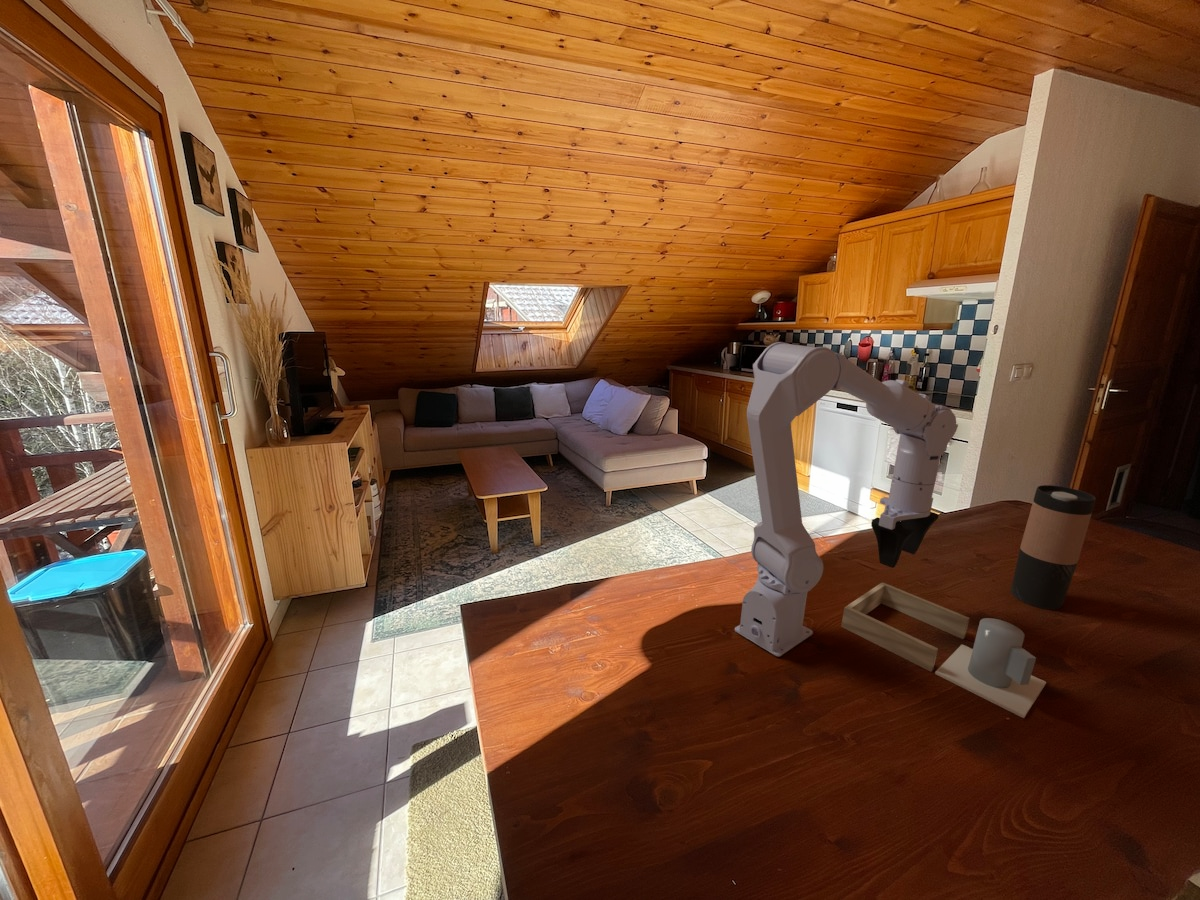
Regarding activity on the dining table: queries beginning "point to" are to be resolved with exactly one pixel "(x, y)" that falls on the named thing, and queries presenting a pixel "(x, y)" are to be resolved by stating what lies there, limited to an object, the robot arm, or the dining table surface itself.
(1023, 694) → the coaster
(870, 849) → the dining table surface
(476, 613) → the dining table surface
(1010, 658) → the grey domed cylinder
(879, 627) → the frame
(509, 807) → the dining table surface
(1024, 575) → the travel mug
